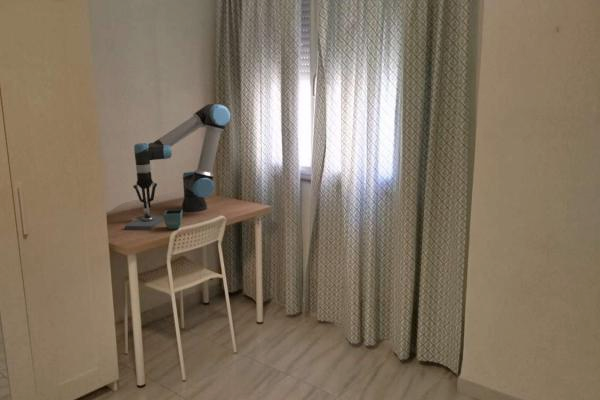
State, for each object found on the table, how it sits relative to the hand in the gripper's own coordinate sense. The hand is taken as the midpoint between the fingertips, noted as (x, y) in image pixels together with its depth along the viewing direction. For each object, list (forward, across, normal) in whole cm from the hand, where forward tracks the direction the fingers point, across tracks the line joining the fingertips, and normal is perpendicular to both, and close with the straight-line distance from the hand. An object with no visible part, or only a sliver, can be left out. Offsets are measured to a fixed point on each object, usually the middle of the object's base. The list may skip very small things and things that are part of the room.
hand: (147, 213), depth 280 cm
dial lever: (+2, +1, +2) cm, 3 cm away
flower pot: (+5, -10, +20) cm, 23 cm away
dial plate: (+4, +3, +6) cm, 8 cm away
